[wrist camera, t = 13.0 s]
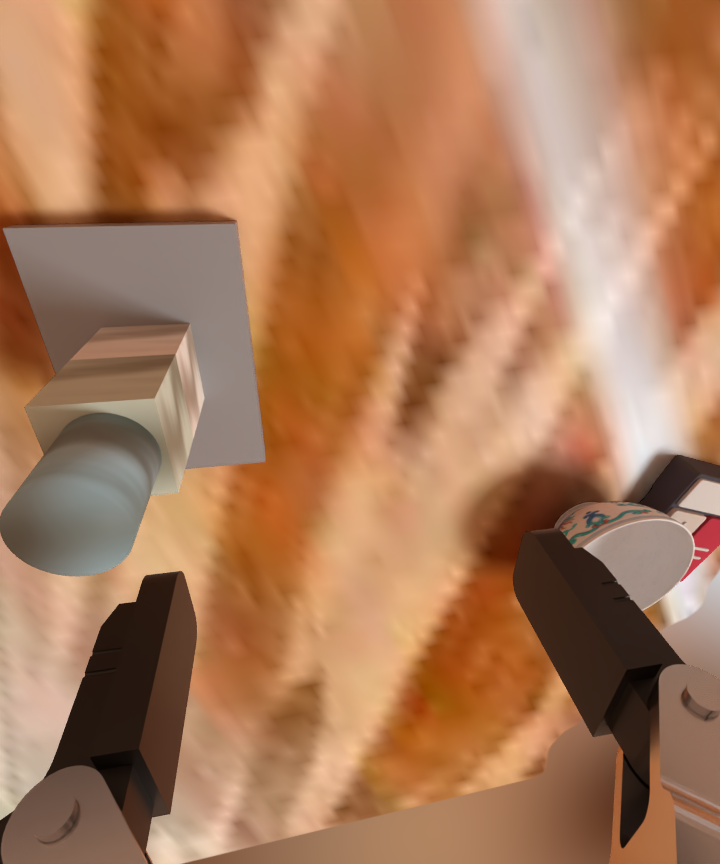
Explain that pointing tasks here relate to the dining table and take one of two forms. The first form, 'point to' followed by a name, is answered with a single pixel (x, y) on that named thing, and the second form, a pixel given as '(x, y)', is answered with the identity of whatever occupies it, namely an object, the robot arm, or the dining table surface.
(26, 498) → the cylinder
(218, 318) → the tower board
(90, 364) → the top block
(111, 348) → the base block
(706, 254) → the dining table surface
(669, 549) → the chinaware
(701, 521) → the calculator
